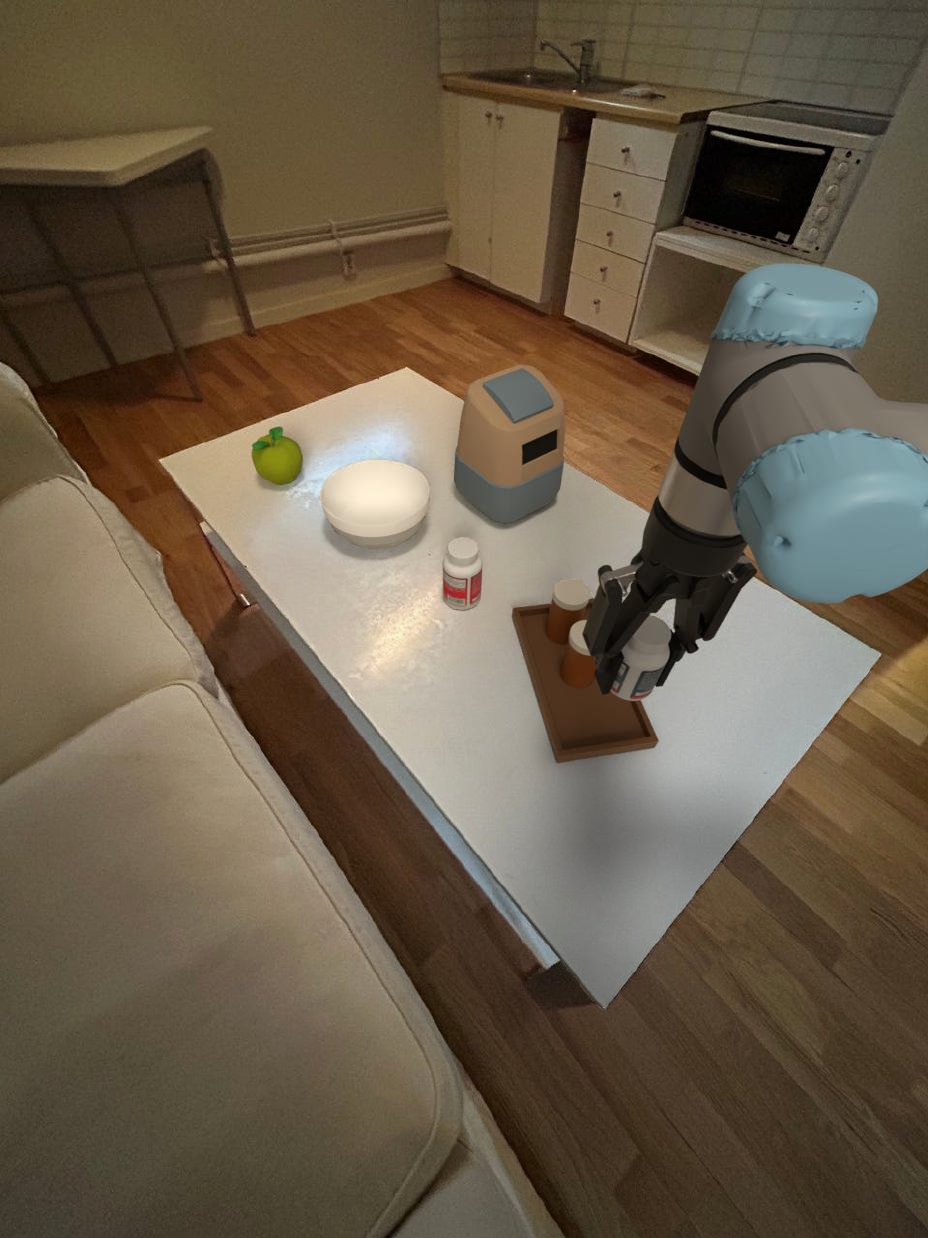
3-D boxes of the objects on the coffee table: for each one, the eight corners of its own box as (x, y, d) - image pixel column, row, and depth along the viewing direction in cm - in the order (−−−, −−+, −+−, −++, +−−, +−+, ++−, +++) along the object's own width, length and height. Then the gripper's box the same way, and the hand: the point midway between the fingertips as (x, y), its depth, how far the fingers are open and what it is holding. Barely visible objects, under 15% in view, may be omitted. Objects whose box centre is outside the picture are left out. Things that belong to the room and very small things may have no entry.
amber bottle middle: (600, 686, 78) (615, 647, 71) (565, 691, 77) (576, 652, 70) (588, 657, 81) (601, 617, 74) (555, 662, 80) (565, 622, 73)
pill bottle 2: (657, 672, 59) (684, 620, 53) (646, 709, 56) (673, 660, 50) (610, 655, 61) (630, 602, 54) (597, 690, 58) (617, 640, 51)
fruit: (250, 487, 107) (235, 442, 99) (278, 462, 112) (265, 417, 105) (289, 499, 105) (277, 453, 97) (316, 473, 110) (306, 428, 103)
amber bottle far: (582, 642, 83) (595, 602, 76) (549, 647, 82) (559, 606, 75) (572, 617, 86) (583, 576, 79) (540, 621, 85) (549, 580, 78)
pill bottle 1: (474, 580, 91) (476, 530, 83) (485, 606, 88) (489, 556, 79) (438, 588, 90) (437, 537, 82) (448, 614, 86) (448, 564, 78)
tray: (654, 748, 72) (659, 740, 70) (556, 763, 70) (558, 756, 69) (592, 606, 88) (595, 598, 87) (511, 616, 87) (512, 607, 85)
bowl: (408, 488, 108) (406, 449, 101) (448, 547, 97) (448, 507, 90) (315, 513, 102) (306, 473, 95) (346, 577, 91) (338, 538, 85)
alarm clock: (501, 537, 99) (513, 419, 81) (445, 492, 107) (445, 377, 89) (565, 502, 106) (588, 387, 88) (508, 463, 114) (519, 350, 96)
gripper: (789, 468, 44) (691, 642, 62) (574, 488, 42) (537, 662, 60) (846, 528, 39) (722, 697, 57) (607, 554, 37) (556, 722, 55)
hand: (628, 679), depth 58 cm, fingers closed on pill bottle 2, 5 cm apart
